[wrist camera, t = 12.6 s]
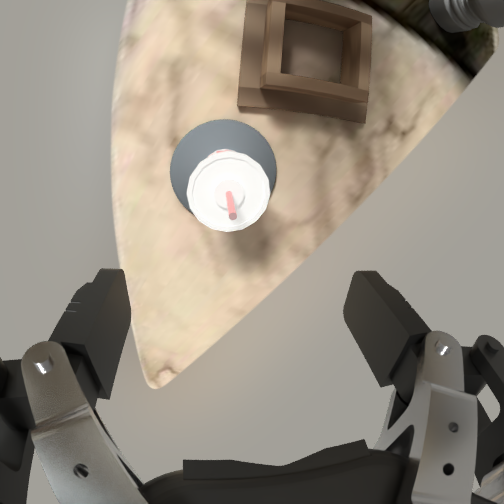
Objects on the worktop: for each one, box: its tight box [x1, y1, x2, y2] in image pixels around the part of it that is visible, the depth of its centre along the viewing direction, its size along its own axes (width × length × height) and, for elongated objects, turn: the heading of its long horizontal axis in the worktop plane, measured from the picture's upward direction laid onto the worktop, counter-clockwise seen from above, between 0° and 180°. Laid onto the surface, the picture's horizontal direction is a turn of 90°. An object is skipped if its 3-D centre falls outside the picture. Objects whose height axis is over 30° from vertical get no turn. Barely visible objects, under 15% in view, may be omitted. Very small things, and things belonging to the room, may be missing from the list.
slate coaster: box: [170, 120, 276, 214], centre depth 29 cm, size 11×11×1 cm
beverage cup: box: [187, 149, 270, 232], centre depth 22 cm, size 6×6×14 cm
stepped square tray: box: [237, 0, 372, 123], centre depth 22 cm, size 14×14×4 cm
